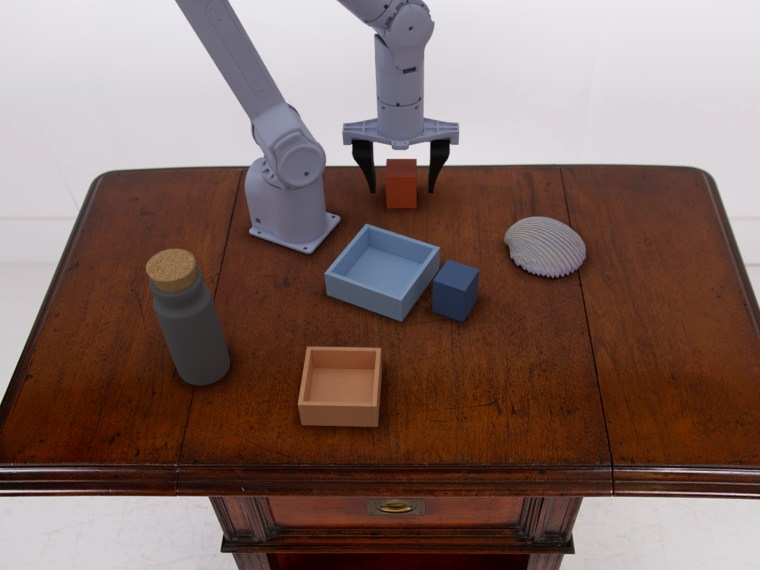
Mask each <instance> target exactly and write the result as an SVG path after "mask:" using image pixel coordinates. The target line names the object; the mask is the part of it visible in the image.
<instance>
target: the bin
mask: <svg viewBox="0 0 760 570" xmlns="http://www.w3.org/2000/svg"><path fill="white" fill-rule="evenodd" d="M440 259H441V247H440V246H438V245H433V244H431V243H429V242H428V243H427V242H424V241H422V240H418V239H415V238H412V237H410V236H406V235H403V234H399V233H397V232H394V231H391V230H388V229H384V228H380V227H378V226H376V225H372V224H369V223H365V224H364V226H363V227H361V229H360V230H359V231H358V233H357V234H356V235H355V236H354V237H353V238H352V239H351V241H350V242H349V243H348V244H347V245H346V247H345V248H344V249H343V250H342V251H341V253H340V254H339V255H338V256H337V258H336V259H335V260H333V262H332V263H331V265H330V266H329V267H328V268H327V269H326V270H325V272H323V274H324V283H325V292H326V296H329V297H331V298H334V299H337V300H340V301H341V302H342V301H343V302H345V303H348V304H350V305H354V306H356V307H359V308H361V309H362V308H363V309H365V310H368V311H370V312H373V313H375V314H378V315H381V316H384V317H387V318H390V319H392V320H395V321H398V322H401V323H402V322H404V320H405V318H406V317H407V315H409V313H410V311H411V310H412V308H413V307H414V306H415V304H416V303H417V301H418V300H419V298H420V297H421V295H423V293H424V291H425V290H426V289H427V287H428V285H430V283H431V281H433V280H434V278H435V277H436V275H437V274H438V273H439V271H440V262H441V260H440Z"/></svg>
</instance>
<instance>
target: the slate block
mask: <svg viewBox="0 0 760 570" xmlns="http://www.w3.org/2000/svg"><path fill="white" fill-rule="evenodd" d="M479 277H480V268H479V269H478V268H475V267H474V266H469V265H466V264H464V263H461V262H457V261H455V260H452V259H449V258H448V259H446V261H445V263H444V264H443V265H442V267H441V268H440V269H439V270H438V272H437V273H436V274H435V276H434V277H433V279H432V305H431V306H432V309H431V310H432V313H435V314H437V315H441V316H443V317H447V318H449V319H451V320H454V321H455V320H456V321H458V322H461V323H464V321H465V320H466V318H467V317H468V315H469V314H470V312H471V310H472V309H473V307H474V306H475V305H476V304H477V303H476V302H477V301H478V289H479Z"/></svg>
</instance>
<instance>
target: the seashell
mask: <svg viewBox="0 0 760 570" xmlns="http://www.w3.org/2000/svg"><path fill="white" fill-rule="evenodd" d="M503 242H504V244H505V245H506V246H508V249H509V254H510V259H511V260H514V264H515V265H516V266H518V267H519V266H521V268H522V270H524V271H527V272H528V273H529V274H532V275H534V276H535V275H537V276H538V277H540V275H541V276H542V277H545V276H546V277H547V278H550V277H551V278H552V279H554V278H556V279H558V278H559V277H562V278H564V277H565V275H566V276H569V275H570V274H573V273H574V272H575V271H577V270H578V269H579V268H581V266H582V264H583V263H584V261H585V260H586V259H587V255H586V254H587V248H586V244H585V242H584V240H583V239H582V237H581V236H580V234H578V232H576V231H575V230H573V228H571V227H570V226H569V225H567V224H565V223H564V222H562V221H559V220H558V219H554V218H552V217H548V216H530V217H525V218H522V219H520V220H518V221H516V222H515V223H514V224H512V225H511V226H510V227H509V228H508V229H507V231H506V232H505V234H504V237H503Z"/></svg>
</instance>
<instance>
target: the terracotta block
mask: <svg viewBox="0 0 760 570" xmlns="http://www.w3.org/2000/svg"><path fill="white" fill-rule="evenodd" d="M385 161H386V162H385V197H386V198H385V200H386V202H385V203H386V209H417V199H418V198H417V197H418V195H417V193H418V190H417V189H418V188H417V186H418V183H417V182H418V181H417V180H418V171H417V169H418V160H417V158H386V160H385Z"/></svg>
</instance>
